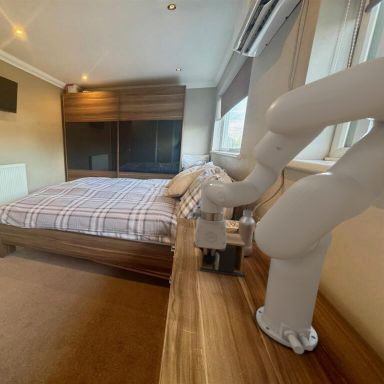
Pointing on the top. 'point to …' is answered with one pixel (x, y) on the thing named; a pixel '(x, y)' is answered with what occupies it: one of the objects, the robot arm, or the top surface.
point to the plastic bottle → (247, 230)
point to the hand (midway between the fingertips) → (207, 263)
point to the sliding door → (225, 259)
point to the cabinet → (239, 256)
